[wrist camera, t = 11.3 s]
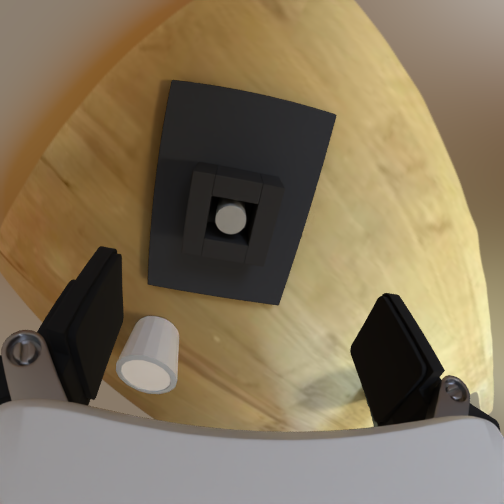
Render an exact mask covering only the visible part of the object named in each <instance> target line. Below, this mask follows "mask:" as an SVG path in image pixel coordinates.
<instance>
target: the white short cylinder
mask: <svg viewBox="0 0 504 504" xmlns="http://www.w3.org/2000/svg"><path fill="white" fill-rule="evenodd" d="M178 349H179V334H178V330H177V329H176V327H175V326H174V325H173V324H172V323H171V322H169V321H168V320H166V319H164V318H161V317H157V316H146V317H144V318H141V319H140V320H139V321H138V322H137V323H136V325H135V327H134V329H133V331H132V333H131V334H130V336H129V338H128V340H127V342H126V345H125V347H124V349H123V351H122V353H121V355H120V357H119V359H118V361H117V363H116V372H117V374H118V376H119V377H120V379H121V380H122V381H124V382H125V383H126V384H127V385H128V386H130V387H132V388H134V389H136V390H138V391H141V392H145V393H148V394H162V393H166V392H169V391H171V390H172V389H173V388H175V386H176V383H177V372H178Z"/></svg>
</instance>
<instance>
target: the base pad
mask: <svg viewBox="0 0 504 504" xmlns="http://www.w3.org/2000/svg"><path fill="white" fill-rule="evenodd" d="M335 119H336V114H333V113H329V112H326V111H323V110H319V109H316V108H313V107H309V106H305V105H302V104H298V103H294V102H291V101H287V100H283V99H279V98H274V97H270V96H266V95H261V94H257V93H252V92H247V91H242V90H237V89H231V88H226V87H220V86H214V85H207V84H200V83H193V82H185V81H177V80H172V82H171V87H170V92H169V97H168V102H167V108H166V113H165V119H164V125H163V131H162V137H161V144H160V150H159V157H158V165H157V173H156V181H155V189H154V199H153V209H152V220H151V232H150V247H149V264H148V285H153V286H159V287H164V288H170V289H175V290H181V291H187V292H193V293H199V294H205V295H211V296H217V297H224V298H230V299H237V300H244V301H251V302H258V303H265V304H272V305H279V303H280V300H281V297H282V294H283V291H284V288H285V285H286V282H287V279H288V276H289V273H290V270H291V267H292V264H293V261H294V258H295V255H296V251H297V248H298V245H299V242H300V239H301V236H302V233H303V229H304V226H305V223H306V220H307V216H308V213H309V210H310V207H311V203H312V200H313V197H314V193H315V190H316V186H317V183H318V180H319V176H320V173H321V169H322V166H323V162H324V159H325V155H326V152H327V148H328V145H329V141H330V137H331V134H332V130H333V126H334V123H335ZM198 162H204V163H210V164H215V165H221V166H226V167H232V168H237V169H242V170H247V171H252V172H257V173H262V174H267V175H272V176H277V177H279V178H280V180H281V182H282V184H283V185H284V187H285V191H284V195H283V199H282V202H281V206H280V210H279V213H278V217H277V221H276V224H275V228H274V232H273V235H272V239H271V243H270V246H269V250H268V254H267V257H266V261H265V264H264V267H261V266H255V265H249V264H243V263H237V262H231V261H225V260H219V259H213V258H207V257H202V256H196V255H190V254H184V253H181V250H182V242H183V234H184V227H185V219H186V212H187V205H188V199H189V192H190V186H191V180H192V174H193V170H194V169H195V167H196V165H197V164H198ZM252 204H253V203H249V202H244V201H238V200H233V199H227V198H222V197H216V196H212V200H211V206H210V211H209V217H208V222H212V223H216V225H217V227H218V229H219V230H220V231H222V232H224V233H226V234H235V233H238V232H240V231H241V230H242V229H243V228H245V229H247V226H248V222H249V217H250V213H251V209H252Z"/></svg>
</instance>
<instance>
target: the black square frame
mask: <svg viewBox="0 0 504 504" xmlns="http://www.w3.org/2000/svg"><path fill="white" fill-rule="evenodd" d="M284 191H285V187H284V185H283V184H282V182H281V180H280V178H279V177H277V176H272V175H267V174H262V173H257V172H252V171H247V170H242V169H237V168H232V167H226V166H221V165H215V164H210V163H204V162H198V164H197V165H196V167H195V169H194V170H193V174H192V180H191V186H190V192H189V199H188V205H187V212H186V219H185V227H184V234H183V242H182V250H181V253H184V254H190V255H196V256H202V257H207V258H213V259H219V260H225V261H231V262H237V263H243V264H249V265H255V266H261V267H264V264H265V261H266V257H267V254H268V250H269V246H270V243H271V239H272V235H273V232H274V228H275V224H276V221H277V217H278V213H279V210H280V206H281V202H282V199H283V195H284ZM212 196H216V197H222V198H227V199H233V200H238V201H244V202H249V203H253V204H252V209H251V213H250V217H249V222H248V226H247V229H245V228H243V229H242V230H241V231H240V232H238V233H235V234H226V233H224V232H222V231H220V230H219V229H218V227H217V225H216V223H212V222H208V217H209V211H210V206H211V200H212Z"/></svg>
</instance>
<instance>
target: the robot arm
mask: <svg viewBox="0 0 504 504" xmlns="http://www.w3.org/2000/svg"><path fill="white" fill-rule="evenodd" d="M122 323H123V294H122V256H121V254H117V250H116V249H113V248H107V247H102V246H100V247H99V248H98V249H97V251H96V252H95V253H94V255H93V256H92V258H91V259H90V260H89V262H88V263H87V264H86V266H85V267H84V269H83V270H82V272H81V273H80V274H79V276H78V277H77V279H76V280H71V281H70V282H69V283H68V285H67V286H66V288H65V289H64V291H63V292H62V293H61V295H60V296H59V298H58V299H57V301H56V302H55V304H54V306H53V307H52V309H51V310H50V312H49V313H48V315H47V317H46V318H45V320H44V321H43V323H42V325H41V326H40V328H39V330H38V331H37V332H35V331H32V330H21V331H18V332H15V333H13V334H11V335H10V336H9V337H8V338H7V339H6V340H5V342H4V343H3V346H2V353H1V354H2V355H0V504H504V437H503V436H502V434H501V432H500V428H499V424H498V422H497V421H496V420H495V419H493V418H492V417H490V416H489V415H487V414H486V413H484V412H483V411H481V410H479V409H478V408H476V407H475V406H473V405H472V404H470V393H469V390H468V388H467V386H466V385H465V384H464V383H463V381H461V380H460V379H459V378H457V377H455V376H450V375H449V376H445V377H444V378H443V379H442V380H441V379H440V376H441V375H442V373H443V372H444V371H445V370H444V368H443V367H442V365H441V363H440V361H439V359H438V358H437V356H436V354H435V353H434V351H433V349H432V347H431V346H430V344H429V342H428V341H427V339H426V337H425V336H424V334H423V332H422V331H421V329H420V327H419V326H418V324H417V323H416V321H415V319H414V318H413V316H412V315H411V313H410V311H409V310H408V308H407V307H406V305H405V304H404V302H403V301H402V299H401V298H400V296H399V295H397V294H389V293H384V294H383V295H382V296H380V297H379V298H378V299H377V301H376V303H375V305H374V307H373V308H372V310H371V312H370V314H369V316H368V318H367V319H366V321H365V323H364V325H363V326H362V328H361V330H360V332H359V333H358V335H357V337H356V338H355V340H354V342H353V344H352V345H351V350H350V352H351V356H352V359H353V361H354V364H355V367H356V370H357V373H358V375H359V378H360V381H361V384H362V387H363V390H364V393H365V396H366V399H367V402H368V404H369V407H370V410H371V414H372V417H373V419H374V421H375V422H377V424H378V427H371V428H361V429H349V430H334V431H310V432H271V431H248V430H232V429H220V428H210V427H201V426H193V425H186V424H179V423H173V422H167V421H161V420H155V419H149V418H143V417H138V416H133V415H128V414H124V413H119V412H115V411H110V410H106V409H101V408H97V407H91V406H88V404H89V402H90V399H93V400H94V399H95V398H96V396H97V392H98V390H99V386H100V384H101V381H102V378H103V375H104V372H105V369H106V366H107V363H108V361H109V358H110V355H111V352H112V349H113V347H114V344H115V341H116V339H117V336H118V334H119V331H120V328H121V326H122Z"/></svg>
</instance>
